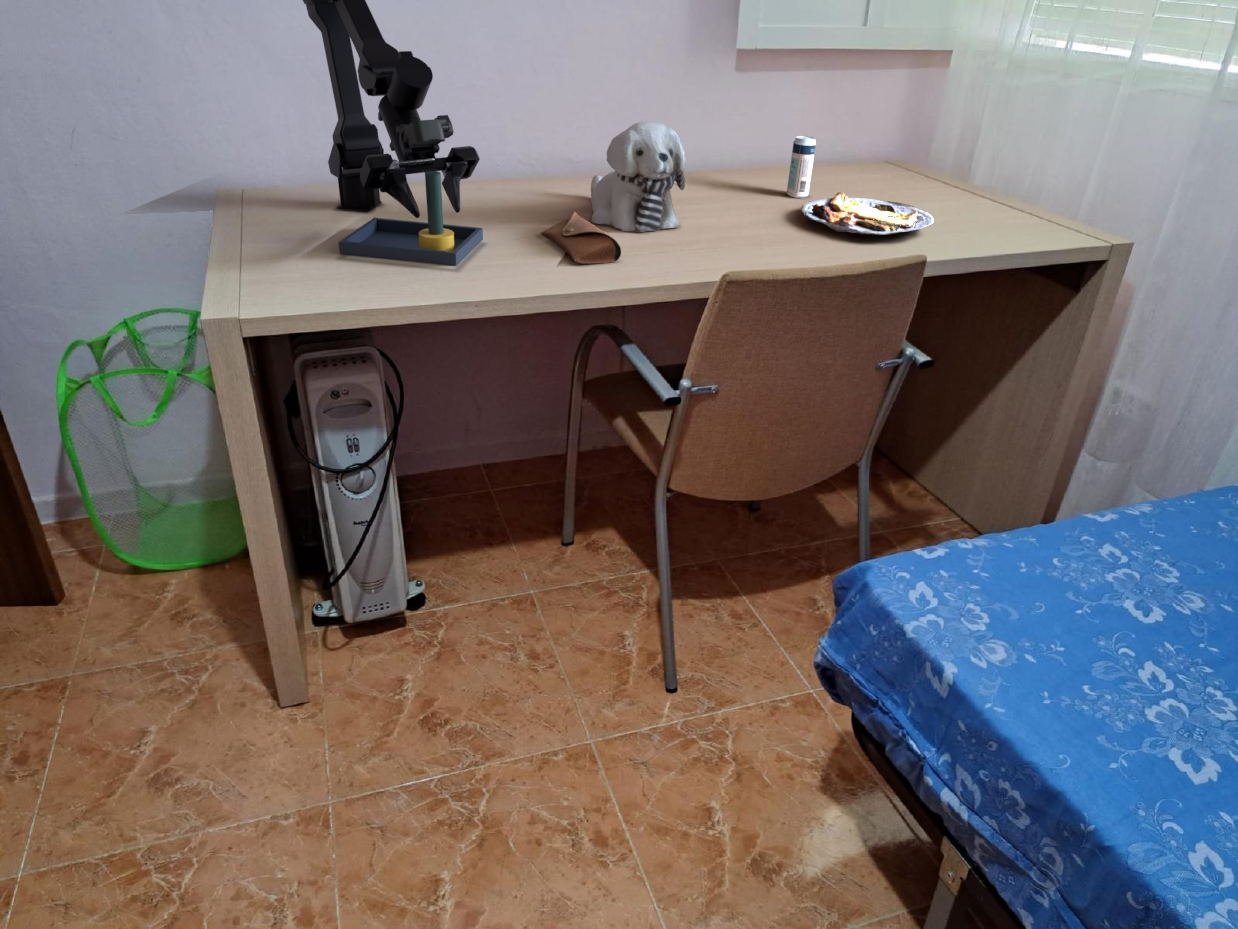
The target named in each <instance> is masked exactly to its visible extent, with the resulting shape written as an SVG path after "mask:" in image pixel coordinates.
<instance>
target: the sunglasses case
mask: <svg viewBox="0 0 1238 929" xmlns="http://www.w3.org/2000/svg"><path fill="white" fill-rule="evenodd" d="M540 234H541V235H542V236H544V237H546V238H547V239H549V240H550V241H551V242H553V243H554V244H555V245H557V247H559V248H560V249H562V250H563V251H564V252H565V253H564V255H565V256H566V257H567V258H569V259H570V260H572V261H573V262H574V263H577V264H582V265H583V264H585V265H588V264H589V265H600V264H601V265H602V264H611V263H616V262H617V261H618V260H619V259H620V257H621V256H622V249H621V248H622V247H621V246H620V244H619V242H618V241H617V240H616V239H615V238H613V237H612V236H611V235H609V234H608V233H605V232H604V231H603V230H601V229H600V228H598V227H597V226H596V225H595V224H594V223H592V222H590V221H589V220H586V219H585V218H583V217H582V216H580V215H579V214H578V213H577V212H576V211H573V212H572V214H571V215H569V216H568V217H566V218H564V219H562V220H560V221H558V222H557V223H555V224H553V225H552V226H549V227H548V228H546V229H545V230H543V231H542V232H540Z"/></svg>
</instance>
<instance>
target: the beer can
mask: <svg viewBox="0 0 1238 929" xmlns="http://www.w3.org/2000/svg"><path fill="white" fill-rule="evenodd" d="M816 145H817V142H816V138H815V137H813V136H808V135H798V136H796V137H795V139H794V141H793V143H792V150H791V158H790V165H789V171H788V172H789V173H788V179H787V187H786V194H787V195H788V197H791V198H795V199H804V198H806V197H808V196H809V194H810V186H811V179H812V174H813V165H814V161H815V160H814V159H815V152H816Z"/></svg>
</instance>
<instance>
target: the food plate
mask: <svg viewBox="0 0 1238 929" xmlns="http://www.w3.org/2000/svg"><path fill="white" fill-rule="evenodd" d="M800 213H801V214H802V215H801V216H802V217H804V218H807V217H808V220H811V221H816V222H818V223H822V224H823V225H825V226H827V227H828V228H829V229H832V230H834V231H835V232H841V233H845V232H847V233H851V234H855V233H856V234H860V235H873V236H876V235H879V236H885V235H895V234H899V233H905V232H911V231H919V230H920V229H924V228H927V227H929V226H930V225H933V224H934V217H933V215H931V214H930V213H929V212H926V211H924V210H921V209H918V208H916V207H914V205H910V204H907V203H902V202H897V201H892V200H891V201H890V200H883V199H874V198H863V197H848V195H846V194H845V193H844V192H837V193H836V194H835V196H833V197H831V198H829V197H828V198H827V197H826V198H820V199H815V200H810V201H808V202H806V203H804V204H802V206H801V210H800ZM888 216H893V217H888ZM894 217H895V218H894ZM873 219H874V220H873ZM878 220H879V221H878ZM915 221H917V222H918V223H917V222H915ZM914 222H915V223H914ZM892 223H894V224H892ZM913 223H914V225H913ZM895 224H897V225H895ZM900 225H901V226H900ZM911 225H913V226H912V227H906V226H911ZM885 230H886V231H885Z"/></svg>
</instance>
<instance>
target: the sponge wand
mask: <svg viewBox="0 0 1238 929" xmlns="http://www.w3.org/2000/svg"><path fill="white" fill-rule="evenodd" d="M424 181H425V195H426V196H425V198H426V213H427V223H428V229H423V230H421V231H420V232H419V246H420V249H430V250H441V251H451V252H453V251H454V250H455V249H454V232H453V231H452V230H449V229H445V228H443V224H444V214H443V213H444V212H443V196H442V194H443V193H442V178H441V171H428V172H425V173H424Z"/></svg>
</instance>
